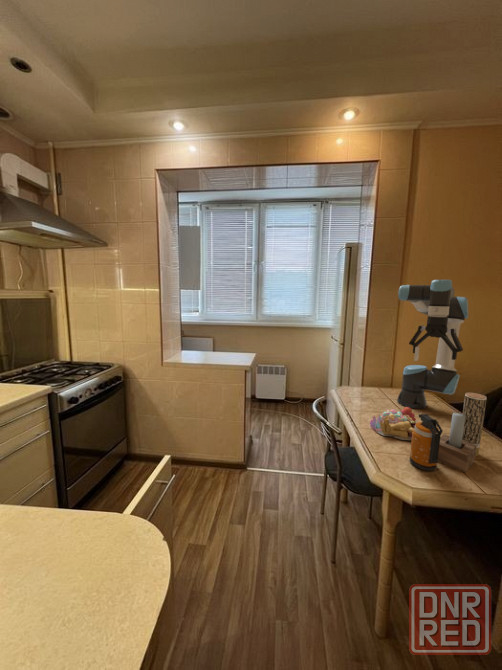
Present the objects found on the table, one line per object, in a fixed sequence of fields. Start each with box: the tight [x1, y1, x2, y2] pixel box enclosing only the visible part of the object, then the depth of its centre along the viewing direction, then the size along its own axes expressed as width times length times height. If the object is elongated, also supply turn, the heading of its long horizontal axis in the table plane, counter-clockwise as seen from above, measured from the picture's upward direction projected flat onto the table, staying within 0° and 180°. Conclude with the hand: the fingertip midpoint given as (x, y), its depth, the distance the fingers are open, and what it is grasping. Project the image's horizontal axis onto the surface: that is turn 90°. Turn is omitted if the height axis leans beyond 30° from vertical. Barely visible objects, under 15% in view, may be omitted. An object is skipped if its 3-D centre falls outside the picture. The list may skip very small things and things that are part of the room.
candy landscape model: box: [369, 406, 418, 441], centre depth 136 cm, size 25×24×9 cm
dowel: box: [449, 412, 465, 449], centre depth 110 cm, size 4×4×16 cm
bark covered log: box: [462, 392, 487, 458], centre depth 115 cm, size 7×7×25 cm
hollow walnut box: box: [438, 433, 477, 473], centre depth 111 cm, size 11×11×7 cm
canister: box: [409, 413, 444, 472], centre depth 106 cm, size 9×11×20 cm
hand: (432, 363), depth 125 cm, fingers open, 13 cm apart
